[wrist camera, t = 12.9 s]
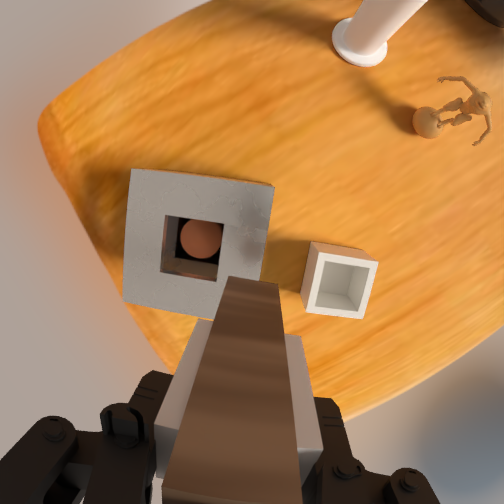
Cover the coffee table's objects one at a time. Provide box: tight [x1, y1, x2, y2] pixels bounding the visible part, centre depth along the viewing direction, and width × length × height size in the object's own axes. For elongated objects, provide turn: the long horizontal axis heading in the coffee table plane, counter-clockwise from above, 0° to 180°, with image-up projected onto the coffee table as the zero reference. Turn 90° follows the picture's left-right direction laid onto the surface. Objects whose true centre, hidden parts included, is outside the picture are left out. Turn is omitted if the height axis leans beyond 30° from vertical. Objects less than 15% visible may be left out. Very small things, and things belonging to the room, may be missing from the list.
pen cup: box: [300, 241, 378, 319], centre depth 35 cm, size 7×7×6 cm
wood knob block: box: [161, 276, 303, 504], centre depth 12 cm, size 3×3×16 cm
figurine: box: [413, 76, 492, 146], centre depth 27 cm, size 8×6×12 cm
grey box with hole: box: [123, 169, 275, 319], centre depth 31 cm, size 12×12×11 cm
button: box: [181, 219, 224, 258], centre depth 33 cm, size 4×4×6 cm
